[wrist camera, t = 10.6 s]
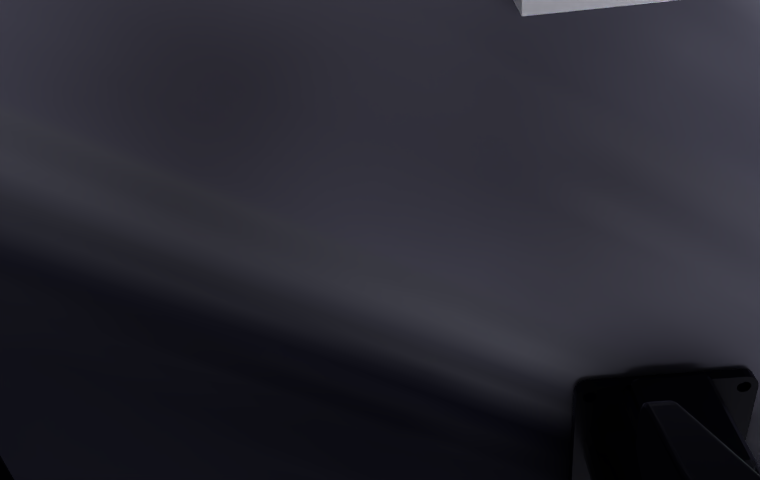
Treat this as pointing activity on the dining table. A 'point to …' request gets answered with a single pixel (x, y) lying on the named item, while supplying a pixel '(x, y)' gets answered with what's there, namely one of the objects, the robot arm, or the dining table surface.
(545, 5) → the bay
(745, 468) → the robot arm
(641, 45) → the dining table surface
